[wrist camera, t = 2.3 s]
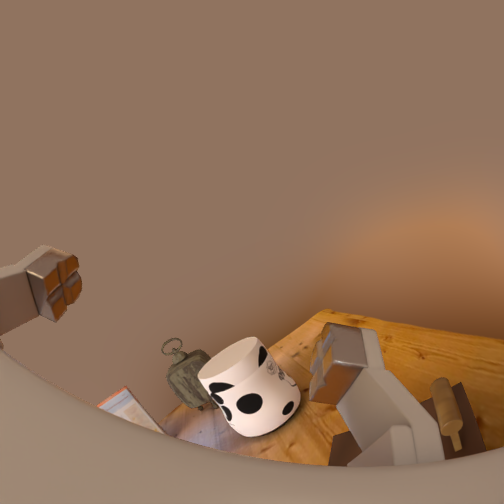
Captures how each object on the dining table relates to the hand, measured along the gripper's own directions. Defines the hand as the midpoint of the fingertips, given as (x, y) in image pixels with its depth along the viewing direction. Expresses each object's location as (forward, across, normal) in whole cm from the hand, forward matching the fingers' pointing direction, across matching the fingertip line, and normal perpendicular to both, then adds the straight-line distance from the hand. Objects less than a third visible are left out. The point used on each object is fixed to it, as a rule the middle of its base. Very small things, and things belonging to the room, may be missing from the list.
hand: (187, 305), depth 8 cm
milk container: (+28, +12, -53) cm, 61 cm away
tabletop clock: (+40, -2, -74) cm, 85 cm away
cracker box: (+21, -16, -82) cm, 86 cm away
